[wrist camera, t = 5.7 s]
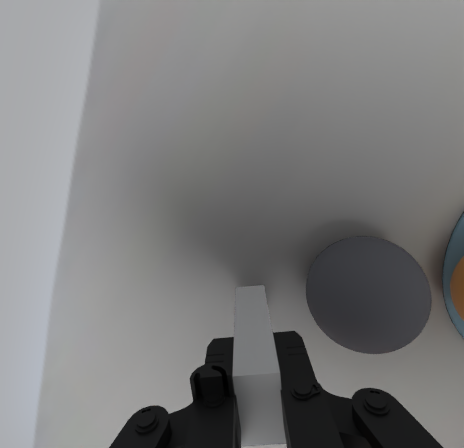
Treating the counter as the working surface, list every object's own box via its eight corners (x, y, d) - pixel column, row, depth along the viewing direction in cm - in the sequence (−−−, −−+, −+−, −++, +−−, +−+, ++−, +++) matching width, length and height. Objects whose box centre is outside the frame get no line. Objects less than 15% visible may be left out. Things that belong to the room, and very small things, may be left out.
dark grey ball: (289, 355, 15) (332, 311, 19) (420, 400, 11) (438, 334, 15) (281, 246, 14) (328, 225, 18) (420, 258, 10) (439, 228, 15)
